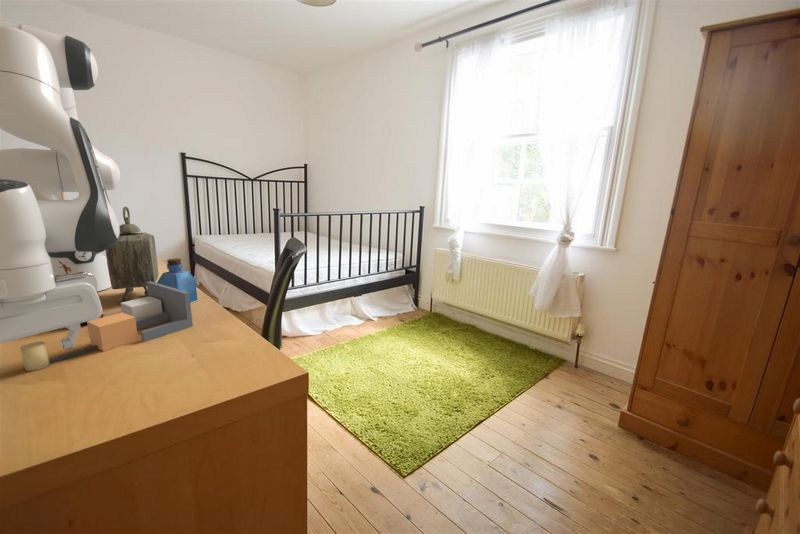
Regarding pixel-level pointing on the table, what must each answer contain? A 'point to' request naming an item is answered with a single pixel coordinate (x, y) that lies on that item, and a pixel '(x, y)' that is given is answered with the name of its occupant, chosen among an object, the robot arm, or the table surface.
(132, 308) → the white block
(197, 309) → the table surface
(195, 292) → the perfume bottle
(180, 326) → the lane rack
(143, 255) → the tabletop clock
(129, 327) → the tan block and knob
